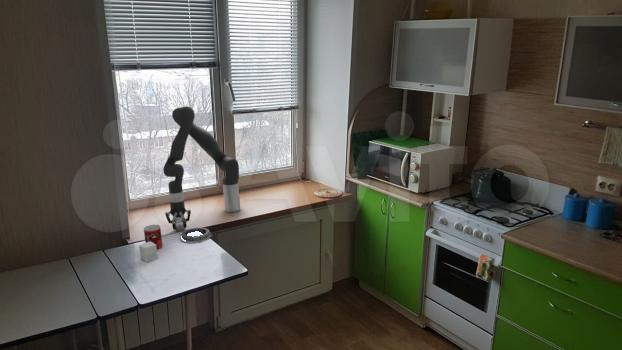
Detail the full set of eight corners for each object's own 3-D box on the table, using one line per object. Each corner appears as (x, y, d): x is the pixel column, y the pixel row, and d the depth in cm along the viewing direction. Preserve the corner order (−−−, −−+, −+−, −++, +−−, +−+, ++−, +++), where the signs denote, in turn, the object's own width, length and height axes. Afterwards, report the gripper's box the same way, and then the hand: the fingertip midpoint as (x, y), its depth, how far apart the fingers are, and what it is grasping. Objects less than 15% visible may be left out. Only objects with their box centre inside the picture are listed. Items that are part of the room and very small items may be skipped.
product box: (158, 258, 223) (156, 244, 221) (146, 262, 219) (144, 248, 217) (152, 255, 227) (150, 241, 225) (140, 259, 223) (138, 244, 221)
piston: (184, 228, 261) (183, 216, 259) (184, 231, 256) (183, 219, 254) (175, 229, 259) (174, 217, 258) (175, 232, 255) (174, 220, 253)
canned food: (143, 249, 233) (140, 229, 231) (153, 243, 241) (150, 223, 238) (155, 251, 231) (153, 231, 228) (165, 245, 238) (163, 225, 235)
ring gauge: (210, 229, 257) (209, 225, 257) (212, 240, 243) (212, 235, 242) (180, 233, 253) (179, 229, 252) (180, 244, 238) (180, 240, 238)
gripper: (190, 196, 259) (192, 225, 263) (163, 199, 255) (166, 228, 259) (190, 200, 252) (193, 229, 256) (162, 203, 248) (166, 233, 252)
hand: (179, 228), depth 258 cm, fingers closed on piston, 4 cm apart
